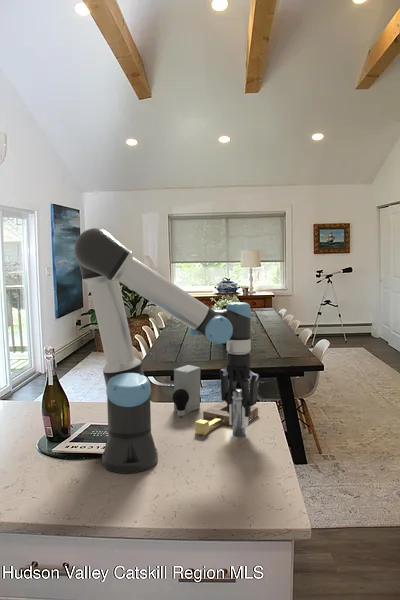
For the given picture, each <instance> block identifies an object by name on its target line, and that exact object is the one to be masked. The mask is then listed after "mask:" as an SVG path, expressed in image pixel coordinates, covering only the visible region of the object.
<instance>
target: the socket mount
mask: <svg viewBox="0 0 400 600" xmlns="http://www.w3.org/2000/svg"><path fill="white" fill-rule="evenodd" d="M257 415H258V416H259V407H258V406H255V405H253V406H251V415H250V416H249V417H248V422H249V420H250V419H252V418H253V419H255V418H256V417H258V416H257ZM255 416H256V417H255ZM254 417H255V418H254ZM215 418H221V419H222V420H223V425H226V426H230V427H233V424H232V425H229V413H228V412H227V402H225V401H221V402H219V403H216V404H215V405H213V406H211V407H209V408H206V409H205V410H203V411H202V420H206V421H209V422H210V421H212V420H214V419H215ZM253 419H252V420H253ZM250 421H251V420H250Z"/></svg>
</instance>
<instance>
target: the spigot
mask: <svg viewBox="0 0 400 600" xmlns="http://www.w3.org/2000/svg"><path fill="white" fill-rule="evenodd" d="M231 399H232V422H233V426H232V436H234V437H243V436H246V427H245V428H243V427H242V407H243V406H244V401H243V395H242V390H241V388H236V389H235V390H232V395H231Z"/></svg>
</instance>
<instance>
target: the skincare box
mask: <svg viewBox="0 0 400 600" xmlns="http://www.w3.org/2000/svg"><path fill="white" fill-rule="evenodd" d="M178 389H184V390H186V391H187V392H188V394H189V401H188V403H187V404H186V407H185V412H184V414H189V413H191V412H193V411H196V410H197V409H200V408H201V367H199V366H196V365H192V364H187V365H184V366H180V367H178V368H174V369H173V393H174V392H175V391H176V390H178ZM173 410H174V411H176V412H178V411H177V407H176V405H175V403H174V402H173Z"/></svg>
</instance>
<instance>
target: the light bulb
mask: <svg viewBox="0 0 400 600" xmlns="http://www.w3.org/2000/svg"><path fill="white" fill-rule="evenodd" d="M188 401H189V394H188V392H187V391H186V390H184V389H178V390H176V391H175V392H174V391H173V393H172V402H173V404H174V403H175V405H176V407H177V411H176V412H177V416H178V417H179V418H182V417H184V416H185V413H184V412H185V407H186V404H187V403H188Z"/></svg>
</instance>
